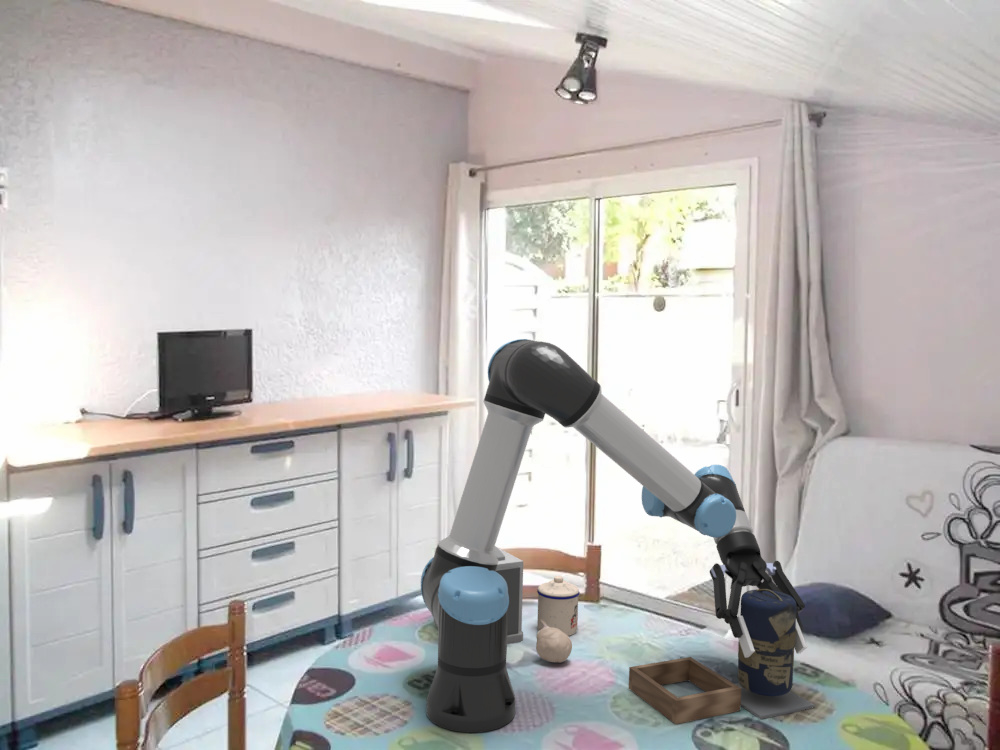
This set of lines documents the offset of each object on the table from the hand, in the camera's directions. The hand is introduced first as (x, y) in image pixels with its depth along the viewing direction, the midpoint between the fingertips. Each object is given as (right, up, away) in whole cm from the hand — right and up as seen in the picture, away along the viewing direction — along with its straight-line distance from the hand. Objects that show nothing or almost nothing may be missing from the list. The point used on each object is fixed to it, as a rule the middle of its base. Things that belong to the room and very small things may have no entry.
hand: (776, 652), depth 148 cm
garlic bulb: (-38, -8, +18) cm, 43 cm away
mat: (-1, -10, +4) cm, 10 cm away
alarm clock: (-53, -6, +33) cm, 63 cm away
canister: (-1, -8, +4) cm, 9 cm away
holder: (-16, -9, +3) cm, 18 cm away
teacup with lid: (-36, -7, +36) cm, 51 cm away
